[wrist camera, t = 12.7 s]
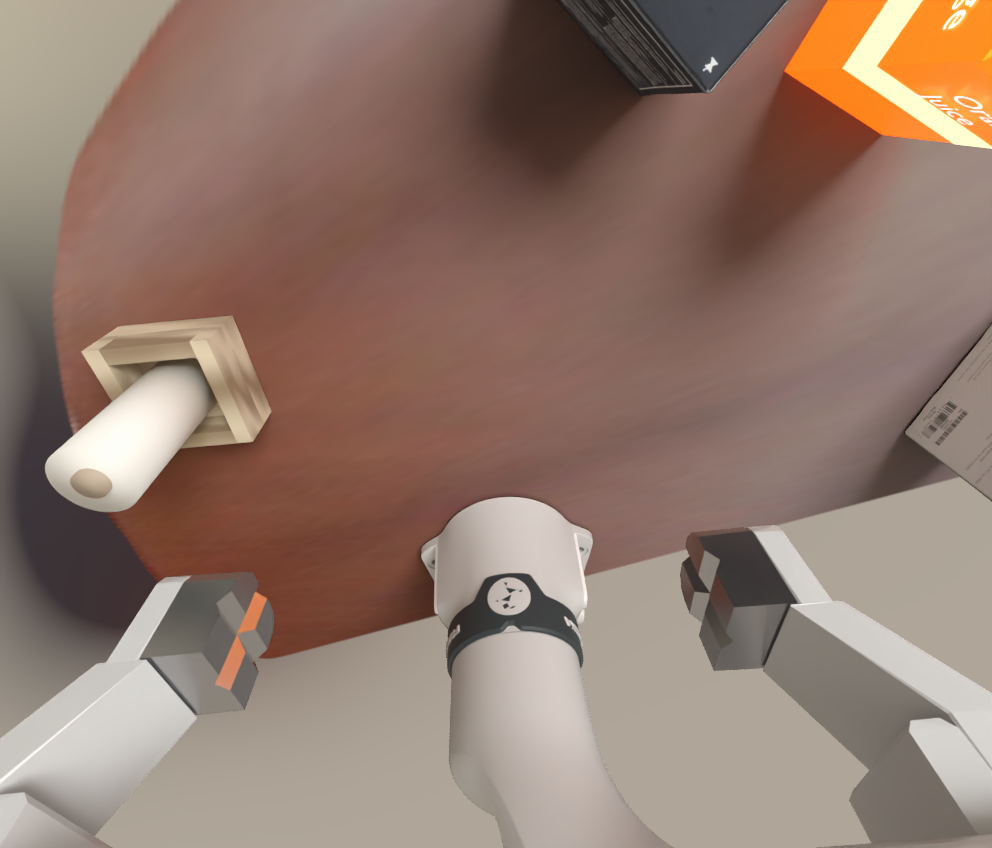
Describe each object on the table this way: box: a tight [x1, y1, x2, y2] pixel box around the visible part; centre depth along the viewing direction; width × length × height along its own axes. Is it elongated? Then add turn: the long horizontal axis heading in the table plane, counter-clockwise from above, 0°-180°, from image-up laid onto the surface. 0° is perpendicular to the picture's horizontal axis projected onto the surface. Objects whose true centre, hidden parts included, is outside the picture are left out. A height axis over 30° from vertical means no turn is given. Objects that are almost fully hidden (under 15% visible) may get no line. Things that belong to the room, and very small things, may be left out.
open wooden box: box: [81, 316, 272, 448], centre depth 39 cm, size 9×9×4 cm
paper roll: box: [45, 358, 218, 512], centre depth 34 cm, size 5×5×12 cm
